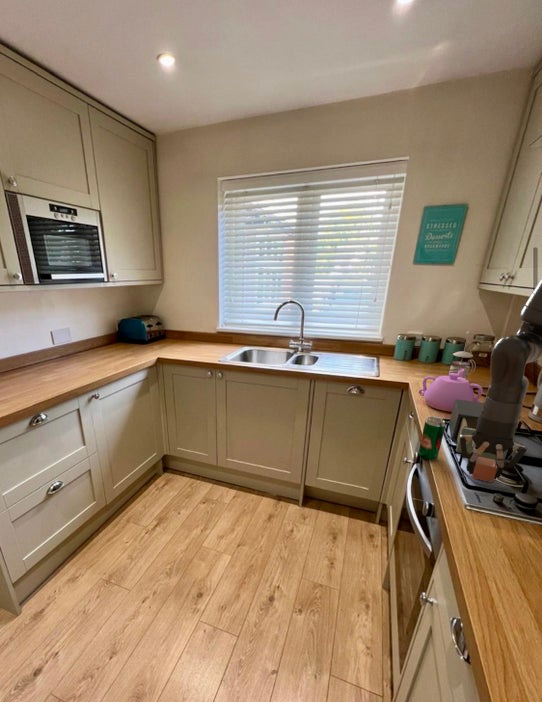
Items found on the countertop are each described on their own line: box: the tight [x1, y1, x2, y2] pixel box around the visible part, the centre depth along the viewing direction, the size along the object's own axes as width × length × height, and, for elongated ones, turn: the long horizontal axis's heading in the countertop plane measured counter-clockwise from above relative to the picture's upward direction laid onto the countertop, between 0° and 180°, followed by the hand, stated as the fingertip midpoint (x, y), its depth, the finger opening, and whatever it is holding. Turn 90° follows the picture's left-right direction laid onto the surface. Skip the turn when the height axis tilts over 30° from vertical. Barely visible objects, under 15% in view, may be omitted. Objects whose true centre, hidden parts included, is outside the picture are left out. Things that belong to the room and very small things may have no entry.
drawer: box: [455, 417, 509, 461], centre depth 98 cm, size 18×11×8 cm, turn 151°
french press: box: [448, 330, 477, 380], centre depth 158 cm, size 10×12×25 cm
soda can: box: [417, 416, 447, 461], centre depth 95 cm, size 5×5×12 cm
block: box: [471, 456, 497, 483], centre depth 86 cm, size 4×4×4 cm
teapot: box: [418, 368, 484, 413], centre depth 132 cm, size 22×22×14 cm
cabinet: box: [448, 399, 483, 443], centre depth 107 cm, size 15×13×10 cm
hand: (481, 474), depth 87 cm, fingers closed on block, 4 cm apart
